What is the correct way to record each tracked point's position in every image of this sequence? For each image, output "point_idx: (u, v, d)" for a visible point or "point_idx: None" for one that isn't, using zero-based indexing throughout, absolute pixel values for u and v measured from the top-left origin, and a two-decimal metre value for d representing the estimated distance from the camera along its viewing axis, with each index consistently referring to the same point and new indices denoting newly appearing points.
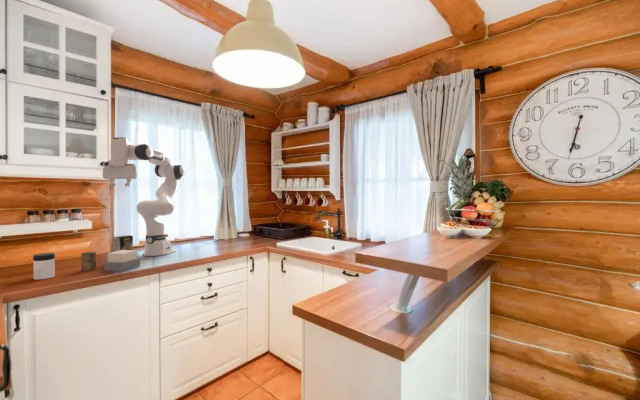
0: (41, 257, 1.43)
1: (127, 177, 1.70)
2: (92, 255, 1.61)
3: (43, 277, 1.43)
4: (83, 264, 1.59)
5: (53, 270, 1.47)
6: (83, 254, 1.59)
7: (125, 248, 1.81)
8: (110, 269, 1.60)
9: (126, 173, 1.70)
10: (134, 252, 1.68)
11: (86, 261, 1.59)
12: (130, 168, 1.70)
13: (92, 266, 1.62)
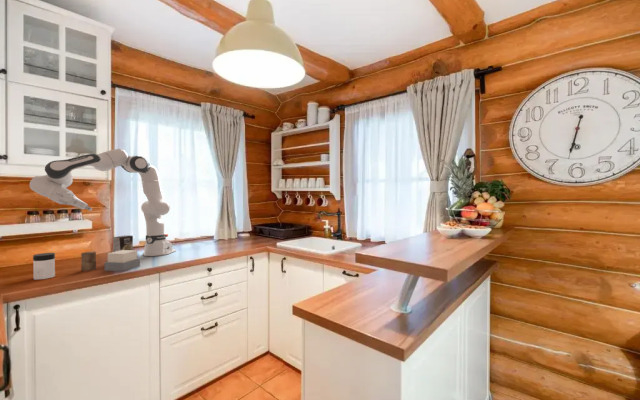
0: (41, 257, 1.43)
1: (71, 204, 1.55)
2: (92, 255, 1.61)
3: (43, 277, 1.43)
4: (83, 264, 1.59)
5: (53, 270, 1.47)
6: (83, 254, 1.59)
7: (125, 248, 1.81)
8: (110, 269, 1.60)
9: None
10: (134, 252, 1.68)
11: (86, 261, 1.59)
12: (59, 198, 1.52)
13: (92, 266, 1.62)
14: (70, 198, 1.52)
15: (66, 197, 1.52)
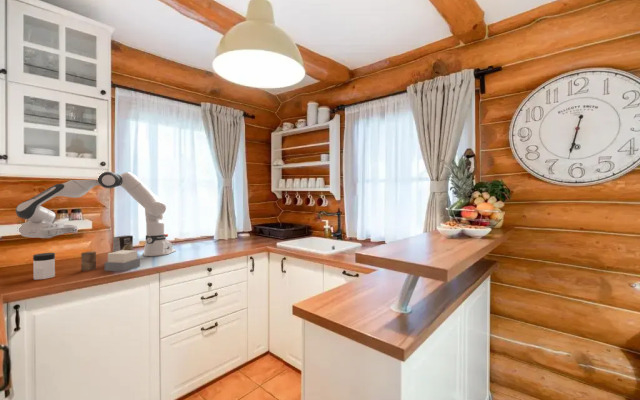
0: (41, 257, 1.43)
1: (47, 235, 1.57)
2: (92, 255, 1.61)
3: (43, 277, 1.43)
4: (83, 264, 1.59)
5: (53, 270, 1.47)
6: (83, 254, 1.59)
7: (125, 248, 1.81)
8: (110, 269, 1.60)
9: None
10: (134, 252, 1.68)
11: (86, 261, 1.59)
12: (35, 235, 1.56)
13: (92, 266, 1.62)
14: (39, 231, 1.54)
15: (37, 232, 1.54)
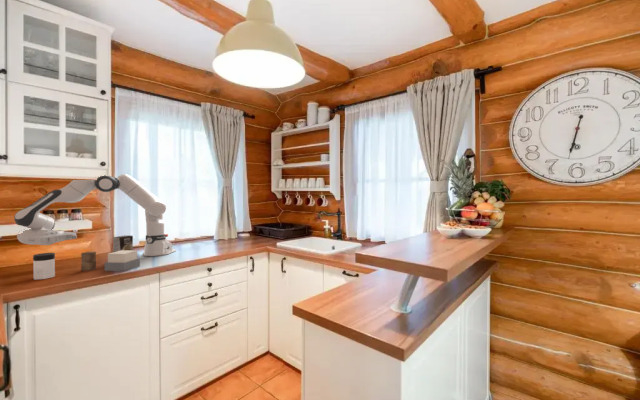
0: (41, 257, 1.43)
1: (47, 242, 1.57)
2: (92, 255, 1.61)
3: (43, 277, 1.43)
4: (83, 264, 1.59)
5: (53, 270, 1.47)
6: (83, 254, 1.59)
7: (125, 248, 1.81)
8: (110, 269, 1.60)
9: None
10: (134, 252, 1.68)
11: (86, 261, 1.59)
12: (34, 242, 1.55)
13: (92, 266, 1.62)
14: (39, 239, 1.53)
15: (36, 239, 1.54)
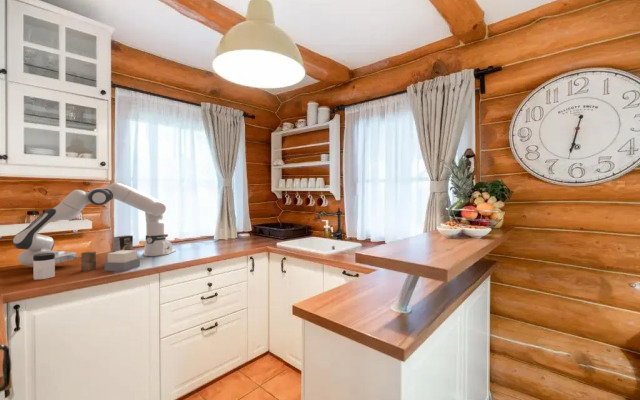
0: (41, 257, 1.43)
1: None
2: (92, 255, 1.61)
3: (43, 277, 1.43)
4: (83, 264, 1.59)
5: (53, 270, 1.47)
6: (83, 254, 1.59)
7: (125, 248, 1.81)
8: (110, 269, 1.60)
9: None
10: (134, 252, 1.68)
11: (86, 261, 1.59)
12: None
13: (92, 266, 1.62)
14: None
15: None
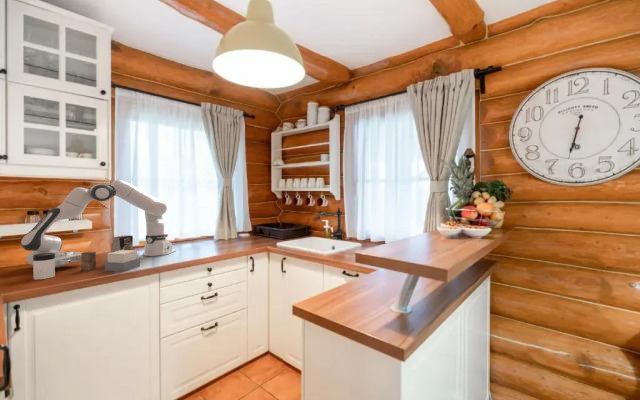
0: (41, 257, 1.43)
1: (57, 265, 1.57)
2: (92, 255, 1.61)
3: (43, 277, 1.43)
4: (83, 264, 1.59)
5: (53, 270, 1.47)
6: (83, 254, 1.59)
7: (125, 248, 1.81)
8: (110, 269, 1.60)
9: None
10: (134, 252, 1.68)
11: (86, 261, 1.59)
12: None
13: (92, 266, 1.62)
14: None
15: None
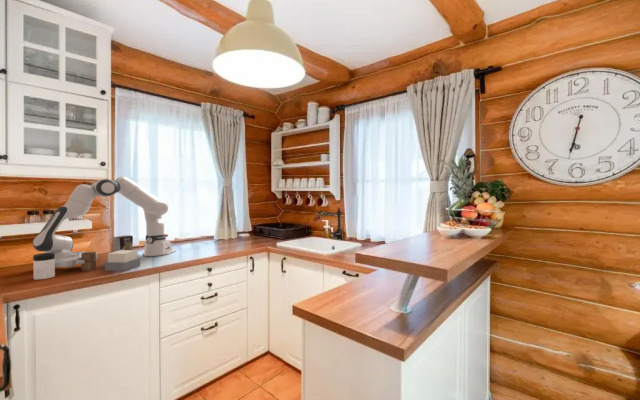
0: (41, 257, 1.43)
1: (70, 265, 1.56)
2: (92, 255, 1.61)
3: (43, 277, 1.43)
4: (83, 264, 1.59)
5: (53, 270, 1.47)
6: (83, 254, 1.59)
7: (125, 248, 1.81)
8: (110, 269, 1.60)
9: None
10: (134, 252, 1.68)
11: (86, 261, 1.59)
12: None
13: (92, 266, 1.62)
14: (62, 263, 1.52)
15: (60, 263, 1.52)
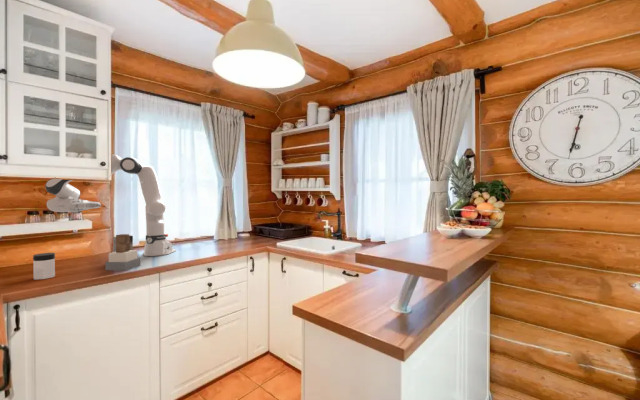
0: (41, 257, 1.43)
1: (75, 208, 1.70)
2: (126, 237, 1.66)
3: (43, 277, 1.43)
4: (118, 246, 1.64)
5: (53, 270, 1.47)
6: (118, 236, 1.64)
7: None
8: (111, 269, 1.61)
9: None
10: (135, 252, 1.70)
11: (121, 243, 1.64)
12: (64, 208, 1.69)
13: (126, 248, 1.66)
14: (68, 205, 1.67)
15: (66, 205, 1.67)
